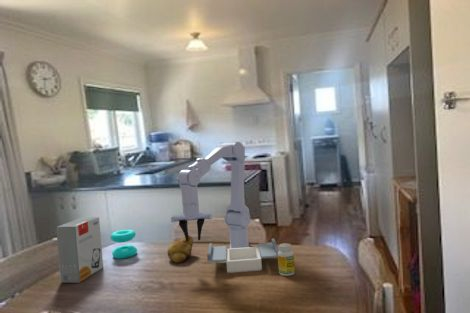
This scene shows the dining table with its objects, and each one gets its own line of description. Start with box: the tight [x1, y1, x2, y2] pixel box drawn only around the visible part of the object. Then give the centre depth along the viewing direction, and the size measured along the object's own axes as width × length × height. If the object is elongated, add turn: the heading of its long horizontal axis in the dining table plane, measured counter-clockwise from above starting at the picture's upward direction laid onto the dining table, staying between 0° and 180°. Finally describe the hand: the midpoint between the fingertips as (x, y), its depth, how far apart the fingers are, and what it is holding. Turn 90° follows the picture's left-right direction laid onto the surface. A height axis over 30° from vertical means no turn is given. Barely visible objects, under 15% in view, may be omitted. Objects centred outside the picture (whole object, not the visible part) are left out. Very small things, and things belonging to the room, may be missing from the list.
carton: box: [225, 245, 263, 274], centre depth 135 cm, size 14×12×4 cm
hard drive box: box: [55, 216, 104, 284], centre depth 136 cm, size 16×8×20 cm, turn 168°
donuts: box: [110, 229, 138, 260], centre depth 155 cm, size 10×10×10 cm
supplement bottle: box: [277, 242, 296, 277], centre depth 124 cm, size 5×5×10 cm
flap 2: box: [257, 238, 280, 259], centre depth 135 cm, size 15×6×2 cm, turn 1°
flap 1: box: [206, 242, 227, 263], centre depth 135 cm, size 15×6×2 cm, turn 1°
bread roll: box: [166, 235, 194, 263], centre depth 146 cm, size 13×10×8 cm
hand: (193, 240), depth 134 cm, fingers open, 4 cm apart
